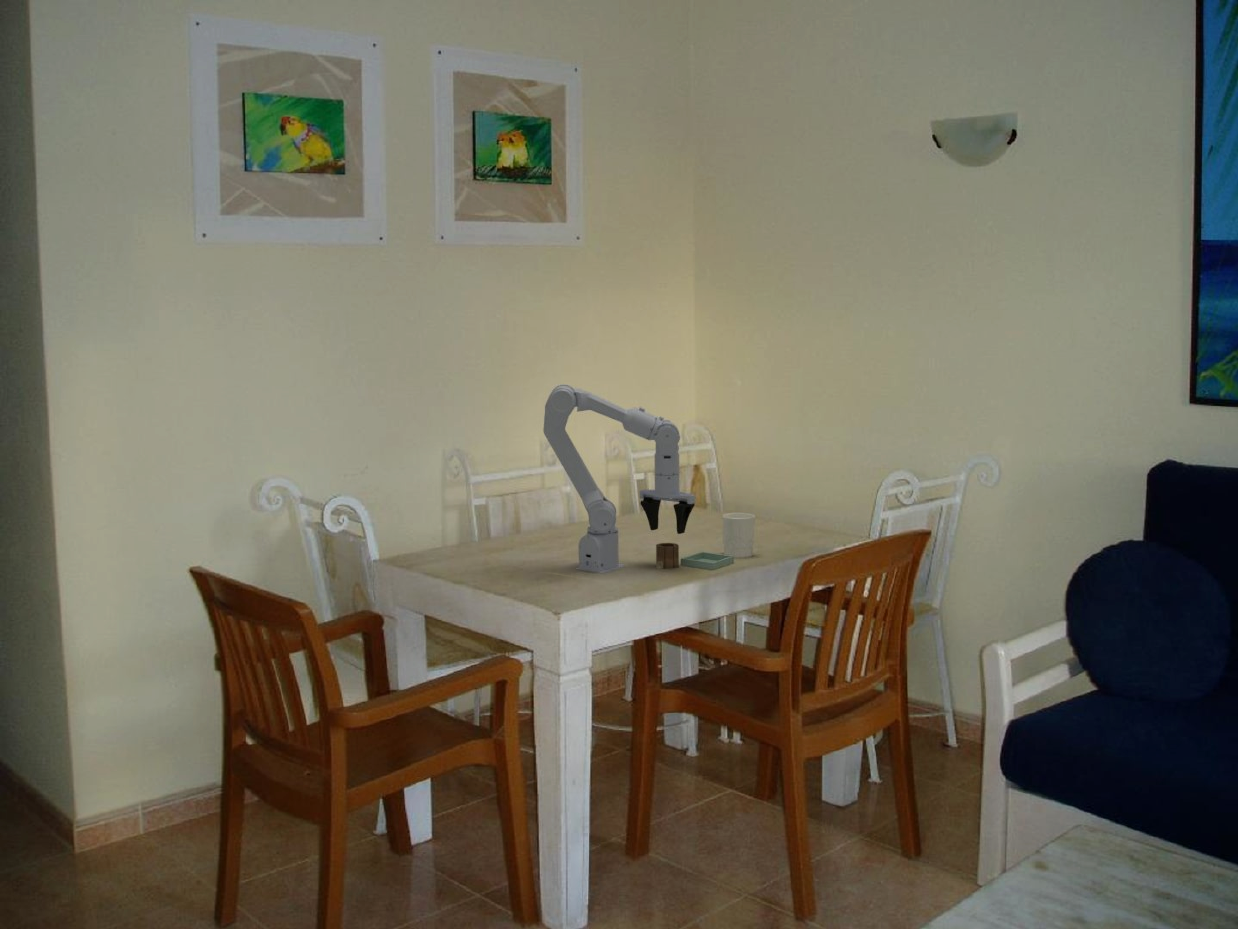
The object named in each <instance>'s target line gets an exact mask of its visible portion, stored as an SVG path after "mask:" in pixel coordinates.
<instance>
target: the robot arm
mask: <svg viewBox="0 0 1238 929" xmlns="http://www.w3.org/2000/svg"><path fill="white" fill-rule="evenodd" d="M545 402H546V403H545V405H544V418H543V434H544V436H545V438H546V440H547V441H548V443H549V445H550V447H551V448H552V450H553V452H554V453H555V455H556V457H557V459H558V461H559V463H560V464H561V466H562V467H563V469H564V471H565V473H566V475H567V476H568V478H569V480H570V481H571V483H572V485H573V487H574V488H575V490H576V492H577V494H578V496H579V497H580V500H581V501H582V504H583V506H584V509H585V511H586V512H587V514H588V524H589V526H588V527H587V530H586V531H587V532H586V533H585V535H584V536H582V537H581V538H580V540H579V542H578V567H576V568H575V569H576V570H578V571H585V572H591V573H597V574H605V573H609V572H613V571H615V570H618V569H621V568H625V567H627V564H623V563H620V561H619V558H620V556H619V554H620V553H619V528H618V527H617V526H616V522H617V509H616V506H615V504H614V503H613V502H612V501H611V500H609V499H607V497H606V496H605V495H604V493H603V492H602V490H601V489H600V488H599V487H598V485H597V483H596V481H595V479H594V477H593V476H592V474H591V473H590V471H589V469H588V467H587V466H586V464H585V462H584V460H583V458H582V457H581V455H580V453H579V451H578V450H577V448H576V446H575V445H574V442H573V441H572V440H571V438H570V435H569V434H568V433H567V431H566V426H567V423H568V420H569V417H570V415H571V414H572V413H573V411H574V410H575V408H577V409H576V412H584V411H592V412H594V413H597V414H599V415H601V416H605V417H607V418H610V419H612V420H615V421H617V422H620V423H621V425H622V427H623V429H624V430H625V431H627V432H628V433H631V434H633V435H636V436H637V437H640V438H643V439H645V440H646V441H654V443H655V453H654V489H649V488H648V489H647V488H645V489H639V499H642V500H640V503H639V504H640V506H641V507H642V508H643V511H644V513H645V516H646V518H647V521H648V525H649V529H650V531H657V530H658V529H659V512H660V506H661V502H662V501H665V502H673V503H674V502H675V504H673V510H674V513H675V518H676V519H675V520H676V533H677V534H678V535H682V534H685V533H686V527H687V524H688V519H689V518H690V515H691V513H692V510H693V509H694V507H695V504H696V494H692V493H687V492H684V491H681V490H680V453H679V449H680V448H679V447H680V446H679V443H680V440H681V435H680V431H679V428H678V427H677V426H678V425H676V424H675V423H674V422H672V421H671V420H669V419H666V420H665V418H664V417H663V416H659V417H658V416H656V415H653V414H651V413H649V412H647V411H646V408H644V407H642V406H640V407H639V408H637V407H632V408H628V409H626V408H624V407H622V406H620V405H617V404H616V403H613V402H611V401H610V400H606V399H604V398H602V397H600V396H599V395H596V394H594V393H592V392H589V391H586V390H583V389H581V388H576V387H575V388H573V387H572V386H571V385H568V384H560V385H557V386H555V387H554V388H553V389H552V390H551V392H550V394H549V396H548V398H547V400H546V401H545Z"/></svg>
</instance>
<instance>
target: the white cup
mask: <svg viewBox="0 0 1238 929" xmlns="http://www.w3.org/2000/svg"><path fill="white" fill-rule="evenodd" d="M721 517H722V518H721V520H722V537H723V551H724V552H723V555H728V556H734V559H736V558H737V559H738V558H739V559H740V558H742V559H743V558H749V557H753V555H754V554H753V553H754V552H753V551H754V550H753V549H754V539H755V538H754V536H755V524H756V523H755V520H756V515H755V514H753V513H748V512H747V513H746V512H729V513H728V512H727V513H724V514H722V516H721Z"/></svg>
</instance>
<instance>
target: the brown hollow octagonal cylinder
mask: <svg viewBox="0 0 1238 929" xmlns="http://www.w3.org/2000/svg"><path fill="white" fill-rule="evenodd" d="M679 548H680V546H679V544H678V543H675V542H660V543H657V544H655V550H656V551H655V556H656V557H655V560H656V561H655V563H656V564H655V567H656V566H657V567H656V570H657V569H658V570H664V569H665V570H668V569H667V568H674V569H677V568H676V567H678V566H679V567H680V562H679V560H680V556H679V554H680V553H679V551H680V550H679ZM679 567H678V568H679ZM663 568H664V569H663Z"/></svg>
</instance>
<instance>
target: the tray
mask: <svg viewBox="0 0 1238 929" xmlns="http://www.w3.org/2000/svg"><path fill="white" fill-rule="evenodd" d="M734 559H735V557H734V556H728V555H724V554H721V553H714V552H713V553H712V552H707V551H700V552H699V551H698V552H696V553H693V554H691V555H688V556H684V557H681V558H680V566H683V567H689V568H695V569H702V570H709V571H715V570H718V569H721V568H724V567H726V566H729V565H733V564H734V563H735V560H734Z"/></svg>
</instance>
